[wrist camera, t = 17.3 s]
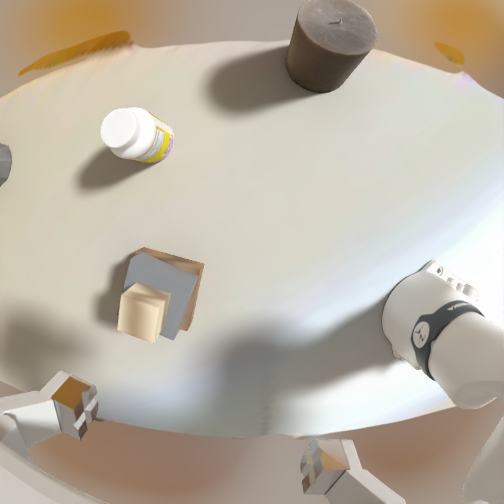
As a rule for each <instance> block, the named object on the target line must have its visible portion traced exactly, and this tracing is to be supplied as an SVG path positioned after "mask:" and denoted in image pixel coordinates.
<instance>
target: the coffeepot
mask: <svg viewBox="0 0 504 504" xmlns="http://www.w3.org/2000/svg"><path fill="white" fill-rule="evenodd" d="M11 163H12V157H11V152H10V149H9V146H6V145H3V144H0V186H1V185H2V184H3V183H4V182H5V181H6V179H7V178H8V176H9V173H10V170H11Z"/></svg>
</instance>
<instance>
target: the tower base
mask: <svg viewBox="0 0 504 504" xmlns="http://www.w3.org/2000/svg"><path fill="white" fill-rule="evenodd" d="M141 252H143V253H145V254H147V255H150V256H152V257H154V258H157V259H159V260H161V261H164V262H166V263H168V264H171V265H173V266H176V267H178V268H180V269H183V270H185V271H188V272H190V273H192V274H195V275H197V276H198V279H197V282H196V284H195V287H194V290H193V293H192V296H191V298H190V301H189V304H188V307H187V310H186V313H185V316H184V318H183V321H182V324H181V327H180V329H181V330H184V331H187V330H188V328H189V326H190V324H191V322H192V319H193V314H194V309H195V304H196V300H197V295H198V290H199V286H200V281H201V277H202V272H203V268H204V264H203V263H199V262H196V261H192V260H188V259H185V258H181V257H177V256H174V255H170V254H167V253H163V252H159V251H156V250H152V249H149V248H145V247H143V248H142V249H140V250H138V251H136V252H135V256H136V255H138V254H139V253H141Z"/></svg>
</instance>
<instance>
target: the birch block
mask: <svg viewBox="0 0 504 504" xmlns="http://www.w3.org/2000/svg"><path fill="white" fill-rule="evenodd" d="M170 295H171V294H170V293H167V292H164V291H161V290H158V289H155V288H152V287H149V286H146V285H143V284H140V283H137V282H136V283H135V284H134V285H133V286H132V287H130V288H129V289H128V290H127V291H126V292H124V293H123V294H122V295H121V300H120V309H119V318H118V329H117V330H118V331H121V332H123V333H126V334H129V335H131V336H134V337H137V338H139V339H142V340H145V341H148V342H151V343H154V342H155V340H156V338H157V337H158V335H159V334H160V332H161V330H162V329H163V327H164V326H165V320H166V315H167V310H168V305H169V300H170Z"/></svg>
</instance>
